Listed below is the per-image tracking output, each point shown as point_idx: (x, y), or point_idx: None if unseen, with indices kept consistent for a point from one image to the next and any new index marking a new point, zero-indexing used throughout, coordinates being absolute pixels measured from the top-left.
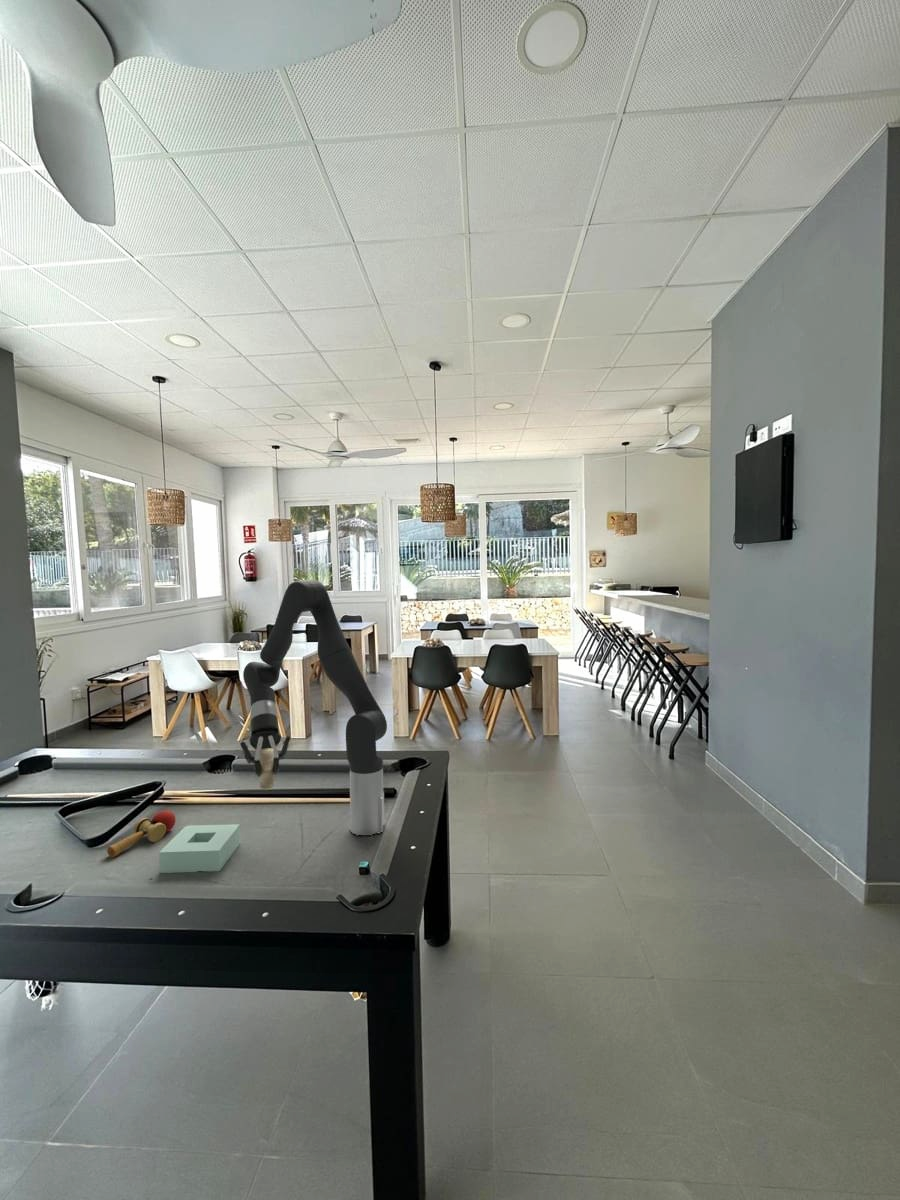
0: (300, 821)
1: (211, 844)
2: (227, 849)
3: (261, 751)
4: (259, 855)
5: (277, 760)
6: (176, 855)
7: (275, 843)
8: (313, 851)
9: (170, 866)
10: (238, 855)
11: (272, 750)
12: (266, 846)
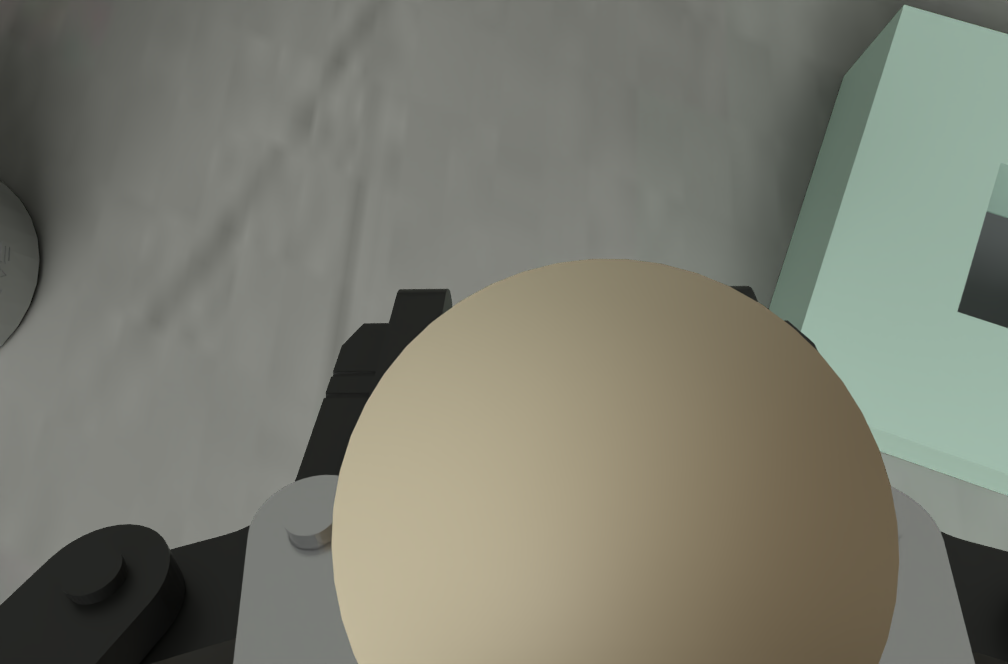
0: None
1: (969, 115)
2: (831, 168)
3: (815, 410)
4: (617, 179)
5: (327, 472)
6: None
7: None
8: (307, 109)
9: None
10: (742, 228)
11: (383, 380)
12: None
